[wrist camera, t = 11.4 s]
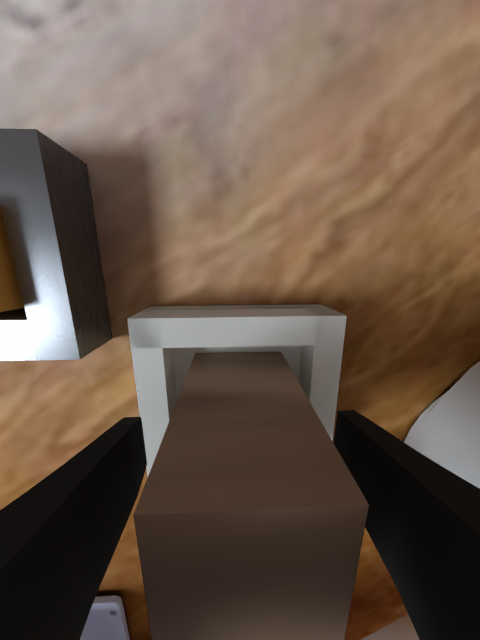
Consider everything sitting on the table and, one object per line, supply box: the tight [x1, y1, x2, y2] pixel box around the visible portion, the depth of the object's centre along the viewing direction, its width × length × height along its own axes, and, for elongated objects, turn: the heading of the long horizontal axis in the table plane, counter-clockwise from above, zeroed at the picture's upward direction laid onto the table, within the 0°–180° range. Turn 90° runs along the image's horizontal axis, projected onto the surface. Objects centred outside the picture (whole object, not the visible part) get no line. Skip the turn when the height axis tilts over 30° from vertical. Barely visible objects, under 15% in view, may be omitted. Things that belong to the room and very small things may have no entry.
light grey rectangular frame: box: [127, 304, 347, 476], centre depth 12 cm, size 16×8×2 cm, turn 0°
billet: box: [134, 352, 369, 640], centre depth 8 cm, size 4×4×7 cm
